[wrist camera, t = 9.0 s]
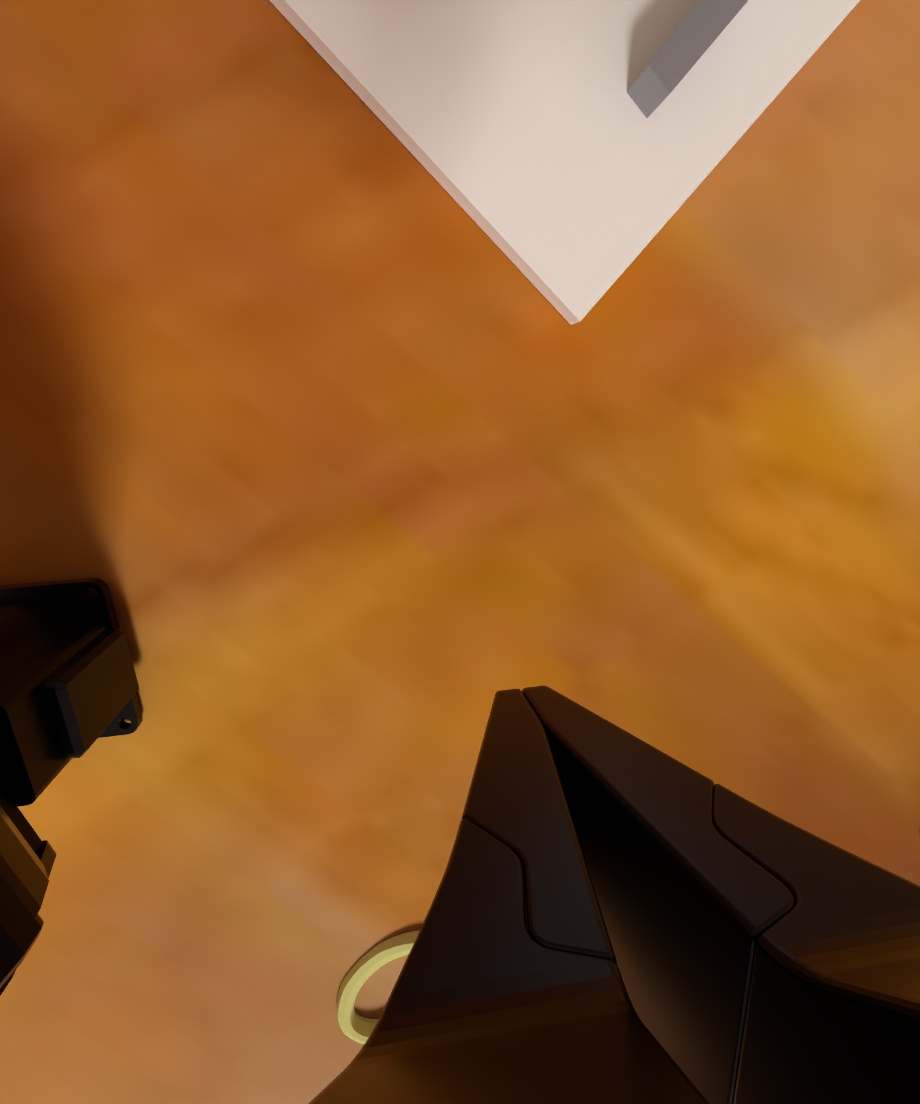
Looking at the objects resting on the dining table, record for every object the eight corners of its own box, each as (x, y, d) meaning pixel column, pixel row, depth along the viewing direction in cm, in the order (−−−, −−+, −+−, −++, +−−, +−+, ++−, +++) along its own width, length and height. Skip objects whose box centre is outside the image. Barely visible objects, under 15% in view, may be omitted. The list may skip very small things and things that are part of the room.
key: (528, 1045, 31) (538, 1090, 29) (324, 1010, 28) (319, 1058, 26) (583, 954, 30) (597, 995, 27) (373, 909, 27) (371, 951, 25)
